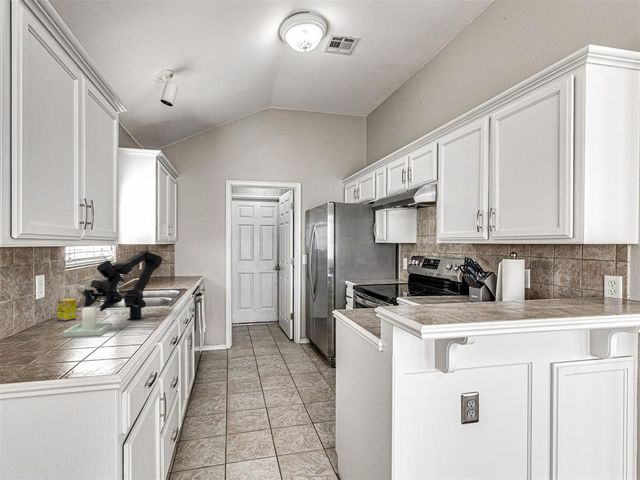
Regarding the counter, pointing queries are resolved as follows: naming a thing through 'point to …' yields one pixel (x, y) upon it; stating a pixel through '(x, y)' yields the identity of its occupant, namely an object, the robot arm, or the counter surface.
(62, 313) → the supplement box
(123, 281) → the robot arm
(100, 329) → the tray
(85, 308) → the canister
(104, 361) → the counter surface
